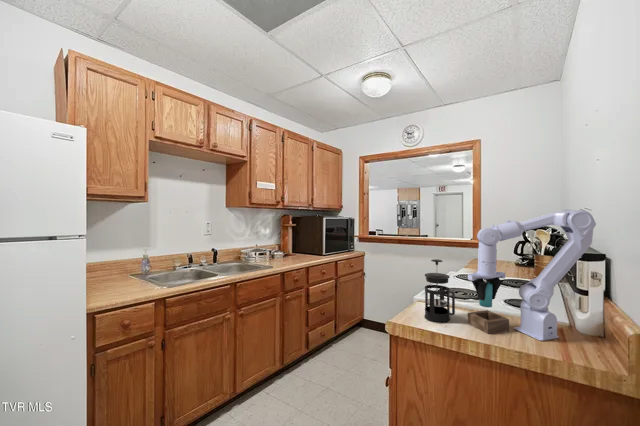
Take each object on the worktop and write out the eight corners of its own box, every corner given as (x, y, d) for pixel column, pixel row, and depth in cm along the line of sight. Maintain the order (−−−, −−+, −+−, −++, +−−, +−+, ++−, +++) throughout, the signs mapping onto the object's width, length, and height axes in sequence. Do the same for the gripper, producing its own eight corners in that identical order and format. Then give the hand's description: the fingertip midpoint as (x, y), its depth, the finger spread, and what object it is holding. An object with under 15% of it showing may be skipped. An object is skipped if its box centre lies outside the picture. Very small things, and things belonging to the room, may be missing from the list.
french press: (418, 317, 110) (417, 259, 109) (429, 311, 116) (429, 256, 116) (448, 327, 101) (448, 263, 101) (459, 319, 108) (458, 260, 107)
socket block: (509, 330, 98) (509, 319, 98) (487, 333, 95) (487, 322, 95) (487, 320, 106) (487, 310, 106) (467, 323, 104) (467, 312, 104)
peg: (494, 307, 99) (495, 284, 99) (485, 307, 99) (485, 285, 99) (486, 303, 103) (486, 281, 103) (476, 303, 103) (477, 282, 102)
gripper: (494, 258, 106) (493, 293, 106) (461, 260, 102) (461, 296, 103) (510, 262, 99) (510, 300, 100) (477, 264, 96) (476, 303, 96)
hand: (486, 298), depth 101 cm, fingers closed on peg, 4 cm apart
